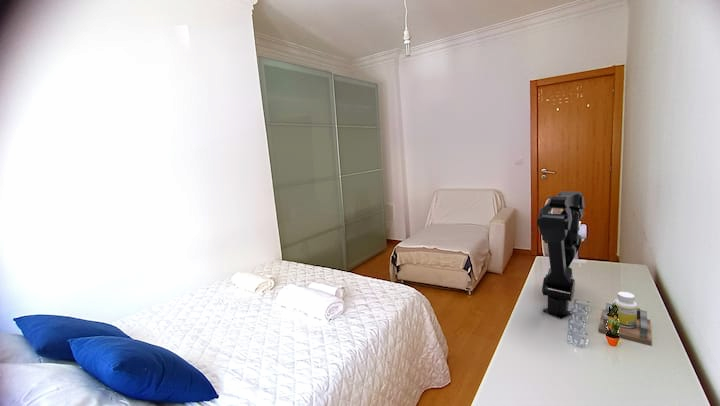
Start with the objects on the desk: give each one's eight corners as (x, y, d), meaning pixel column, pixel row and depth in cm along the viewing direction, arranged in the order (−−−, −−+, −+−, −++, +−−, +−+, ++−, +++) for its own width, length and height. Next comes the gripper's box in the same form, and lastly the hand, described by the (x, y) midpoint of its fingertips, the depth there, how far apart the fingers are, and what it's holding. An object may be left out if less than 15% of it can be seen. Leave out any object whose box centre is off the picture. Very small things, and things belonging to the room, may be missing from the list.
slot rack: (651, 345, 90) (652, 331, 90) (598, 332, 98) (599, 319, 97) (649, 323, 101) (650, 310, 100) (602, 312, 108) (602, 301, 108)
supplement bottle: (615, 317, 103) (617, 289, 101) (637, 323, 99) (639, 293, 97) (611, 324, 99) (613, 294, 98) (634, 330, 95) (636, 300, 94)
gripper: (549, 218, 129) (548, 255, 131) (538, 228, 115) (537, 269, 118) (583, 220, 121) (581, 259, 124) (575, 232, 108) (573, 276, 110)
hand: (567, 266), depth 119 cm, fingers open, 9 cm apart
